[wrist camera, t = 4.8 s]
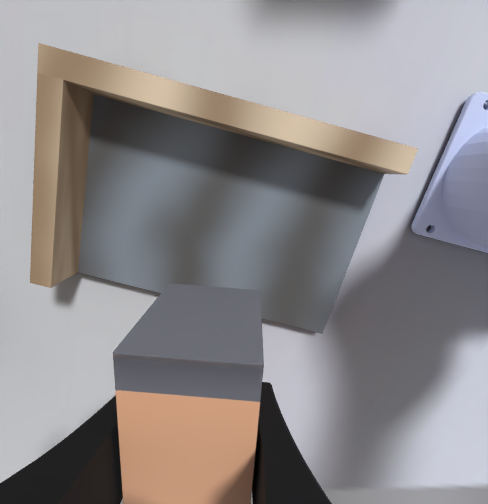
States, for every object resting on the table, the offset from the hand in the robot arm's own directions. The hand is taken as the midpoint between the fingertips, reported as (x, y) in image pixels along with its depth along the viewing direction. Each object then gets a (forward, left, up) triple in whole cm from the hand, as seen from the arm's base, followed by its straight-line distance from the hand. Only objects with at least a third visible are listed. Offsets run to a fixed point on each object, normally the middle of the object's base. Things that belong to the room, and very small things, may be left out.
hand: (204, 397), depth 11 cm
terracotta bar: (0, 0, -2) cm, 2 cm away
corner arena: (+2, -6, -8) cm, 11 cm away
